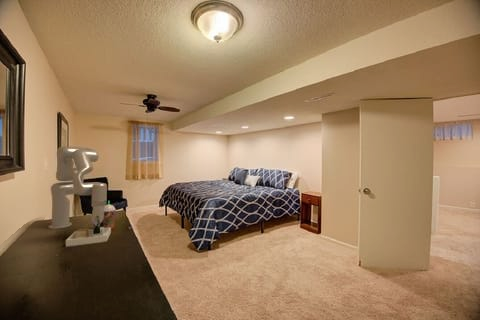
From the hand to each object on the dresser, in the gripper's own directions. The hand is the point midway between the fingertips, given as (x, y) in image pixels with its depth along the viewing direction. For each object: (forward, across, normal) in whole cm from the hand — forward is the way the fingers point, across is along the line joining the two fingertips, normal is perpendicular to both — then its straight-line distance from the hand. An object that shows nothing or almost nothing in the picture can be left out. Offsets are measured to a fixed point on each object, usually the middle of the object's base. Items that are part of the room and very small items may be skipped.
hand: (98, 231), depth 123 cm
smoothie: (+4, -16, +3) cm, 17 cm away
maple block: (+4, 0, -8) cm, 9 cm away
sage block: (+4, 0, 0) cm, 4 cm away
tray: (+4, 0, -4) cm, 6 cm away
